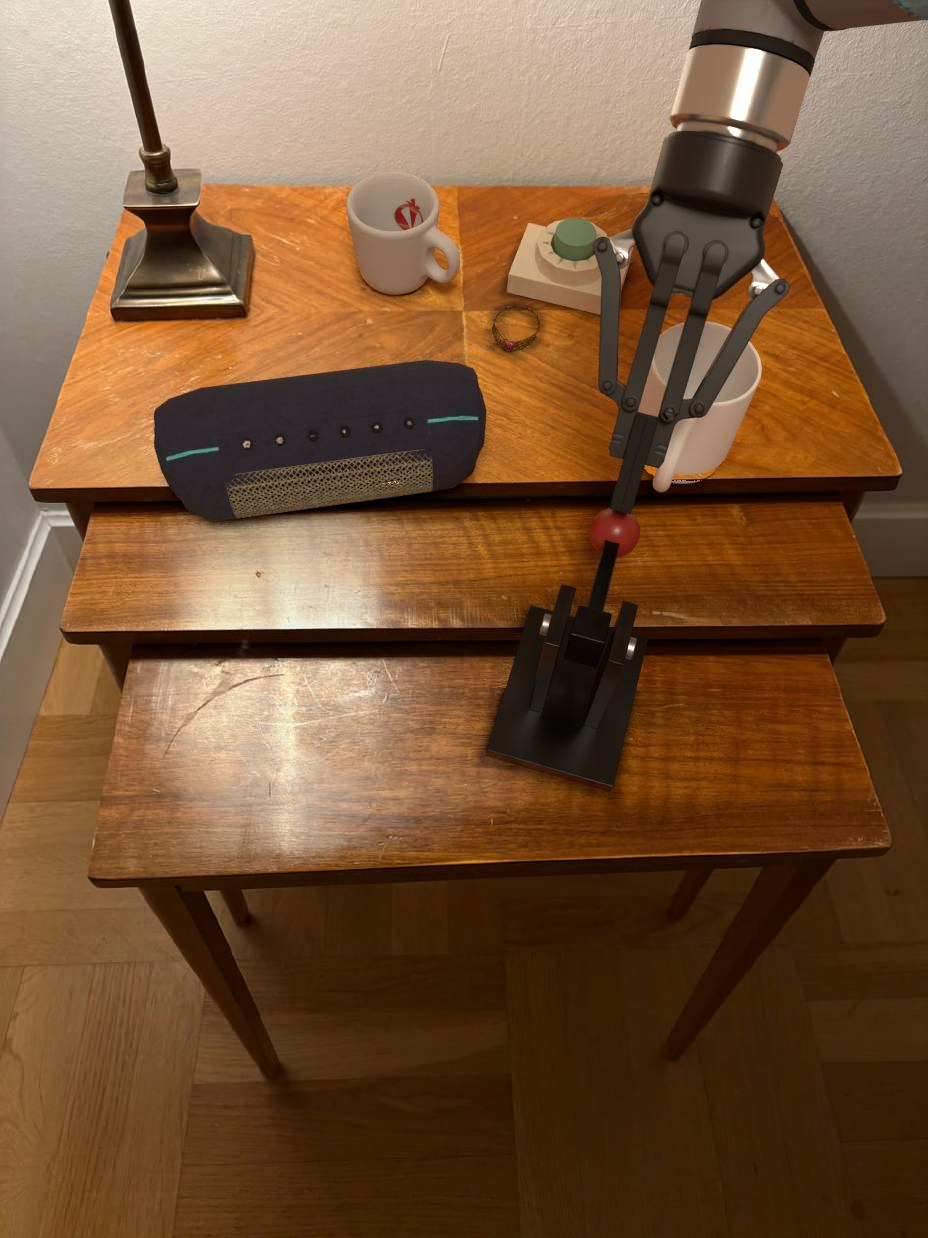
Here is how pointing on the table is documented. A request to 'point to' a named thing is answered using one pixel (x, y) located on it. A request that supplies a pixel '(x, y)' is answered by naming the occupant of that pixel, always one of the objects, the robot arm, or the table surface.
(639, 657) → the lever base
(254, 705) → the table surface
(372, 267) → the cup
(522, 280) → the button block
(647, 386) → the mug
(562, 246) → the button
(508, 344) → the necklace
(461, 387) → the portable speaker
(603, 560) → the lever
